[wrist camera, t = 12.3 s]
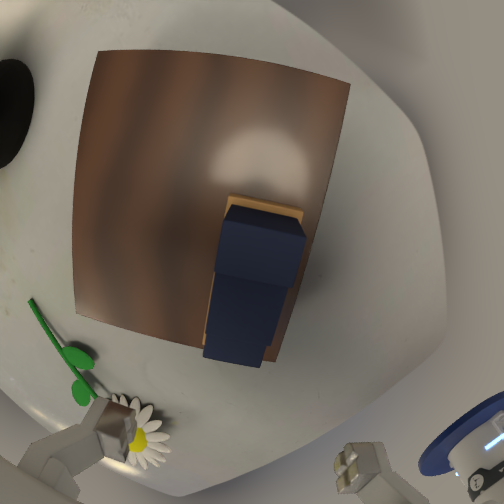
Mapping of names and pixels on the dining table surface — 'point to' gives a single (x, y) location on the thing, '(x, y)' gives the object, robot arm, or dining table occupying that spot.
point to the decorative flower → (145, 438)
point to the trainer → (251, 278)
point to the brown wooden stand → (189, 178)
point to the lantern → (14, 107)
